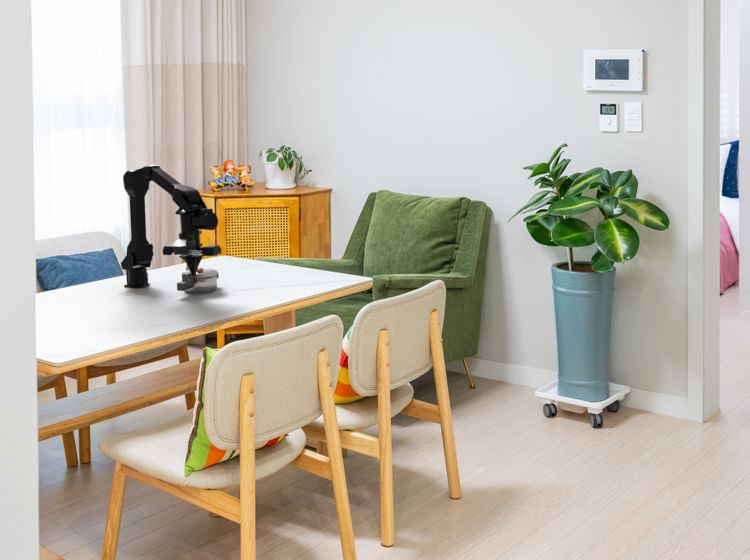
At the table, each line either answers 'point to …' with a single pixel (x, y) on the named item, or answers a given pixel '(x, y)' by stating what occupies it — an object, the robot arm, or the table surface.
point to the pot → (199, 285)
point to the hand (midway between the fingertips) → (193, 276)
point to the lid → (198, 274)
